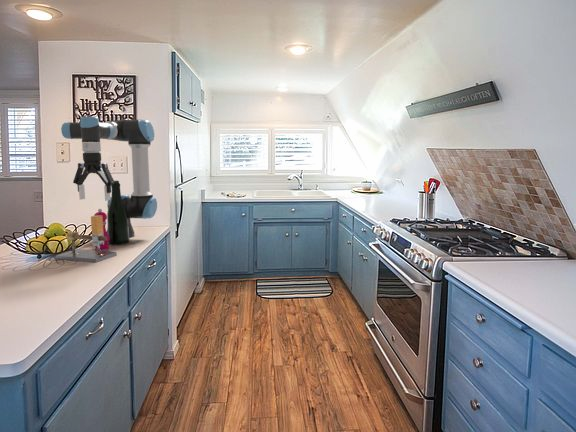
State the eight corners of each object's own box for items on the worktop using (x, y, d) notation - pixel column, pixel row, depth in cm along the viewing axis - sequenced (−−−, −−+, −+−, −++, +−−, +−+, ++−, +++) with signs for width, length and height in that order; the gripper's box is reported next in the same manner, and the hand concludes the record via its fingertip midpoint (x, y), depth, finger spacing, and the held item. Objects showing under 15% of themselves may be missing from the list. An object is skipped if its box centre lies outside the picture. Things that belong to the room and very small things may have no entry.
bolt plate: (77, 251, 223) (77, 248, 223) (116, 255, 216) (116, 251, 216) (55, 258, 210) (55, 255, 209) (96, 262, 203) (95, 258, 203)
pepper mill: (106, 250, 227) (104, 209, 224) (91, 250, 227) (89, 209, 224) (112, 246, 234) (110, 207, 231) (98, 246, 234) (95, 207, 231)
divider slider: (99, 252, 213) (96, 215, 210) (104, 252, 212) (102, 215, 210) (93, 254, 209) (90, 216, 207) (98, 254, 208) (96, 216, 206)
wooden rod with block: (73, 251, 217) (72, 231, 216) (109, 254, 211) (108, 234, 210) (67, 253, 213) (65, 233, 212) (103, 256, 208) (102, 235, 206)
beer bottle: (125, 245, 238) (121, 181, 233) (104, 245, 238) (101, 181, 233) (132, 241, 248) (129, 179, 243) (113, 241, 248) (109, 179, 243)
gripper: (62, 152, 204) (65, 199, 208) (110, 152, 197) (113, 201, 201) (74, 151, 211) (77, 197, 215) (121, 152, 204) (123, 199, 208)
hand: (94, 199), depth 208 cm, fingers open, 13 cm apart
